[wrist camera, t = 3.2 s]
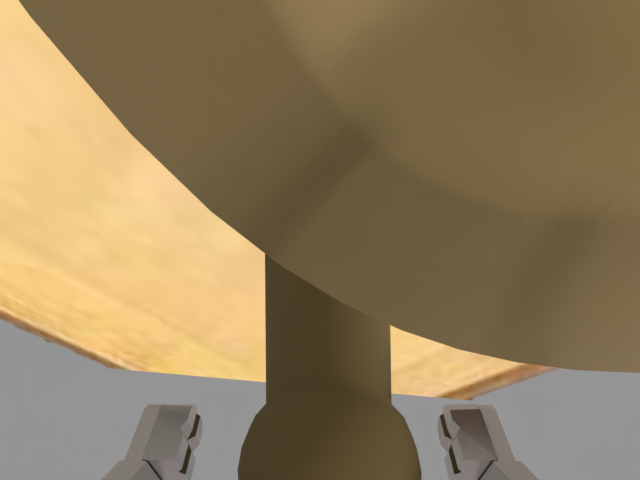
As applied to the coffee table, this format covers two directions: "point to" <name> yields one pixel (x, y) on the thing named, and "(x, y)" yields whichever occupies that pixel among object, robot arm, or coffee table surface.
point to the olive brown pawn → (325, 392)
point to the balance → (402, 152)
